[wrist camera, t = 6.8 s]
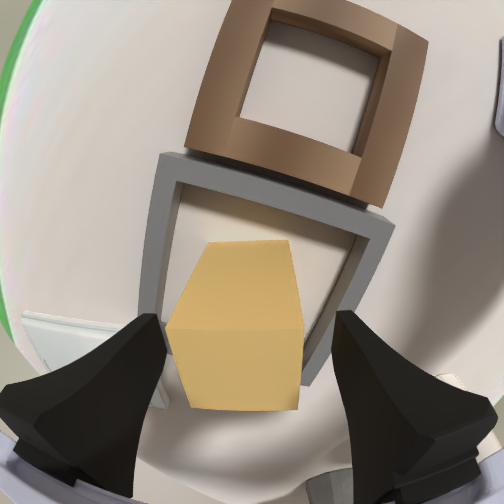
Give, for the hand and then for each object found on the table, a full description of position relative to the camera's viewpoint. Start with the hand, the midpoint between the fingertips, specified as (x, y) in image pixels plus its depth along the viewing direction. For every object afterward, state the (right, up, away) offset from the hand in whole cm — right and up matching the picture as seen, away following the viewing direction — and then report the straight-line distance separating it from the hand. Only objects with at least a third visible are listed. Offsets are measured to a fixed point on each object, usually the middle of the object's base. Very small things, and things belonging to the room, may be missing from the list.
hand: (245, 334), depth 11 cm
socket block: (+3, +11, 0) cm, 11 cm away
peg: (0, +2, +4) cm, 5 cm away
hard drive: (-13, -5, +9) cm, 16 cm away
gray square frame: (0, +2, +4) cm, 4 cm away
